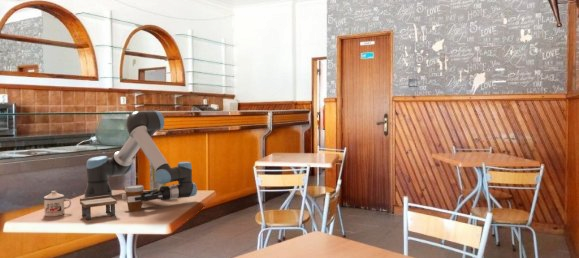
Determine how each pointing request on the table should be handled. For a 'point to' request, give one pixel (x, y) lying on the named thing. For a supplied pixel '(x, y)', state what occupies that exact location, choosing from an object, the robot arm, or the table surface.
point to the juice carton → (154, 180)
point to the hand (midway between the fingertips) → (125, 198)
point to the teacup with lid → (54, 204)
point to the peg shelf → (97, 204)
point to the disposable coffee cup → (134, 191)
